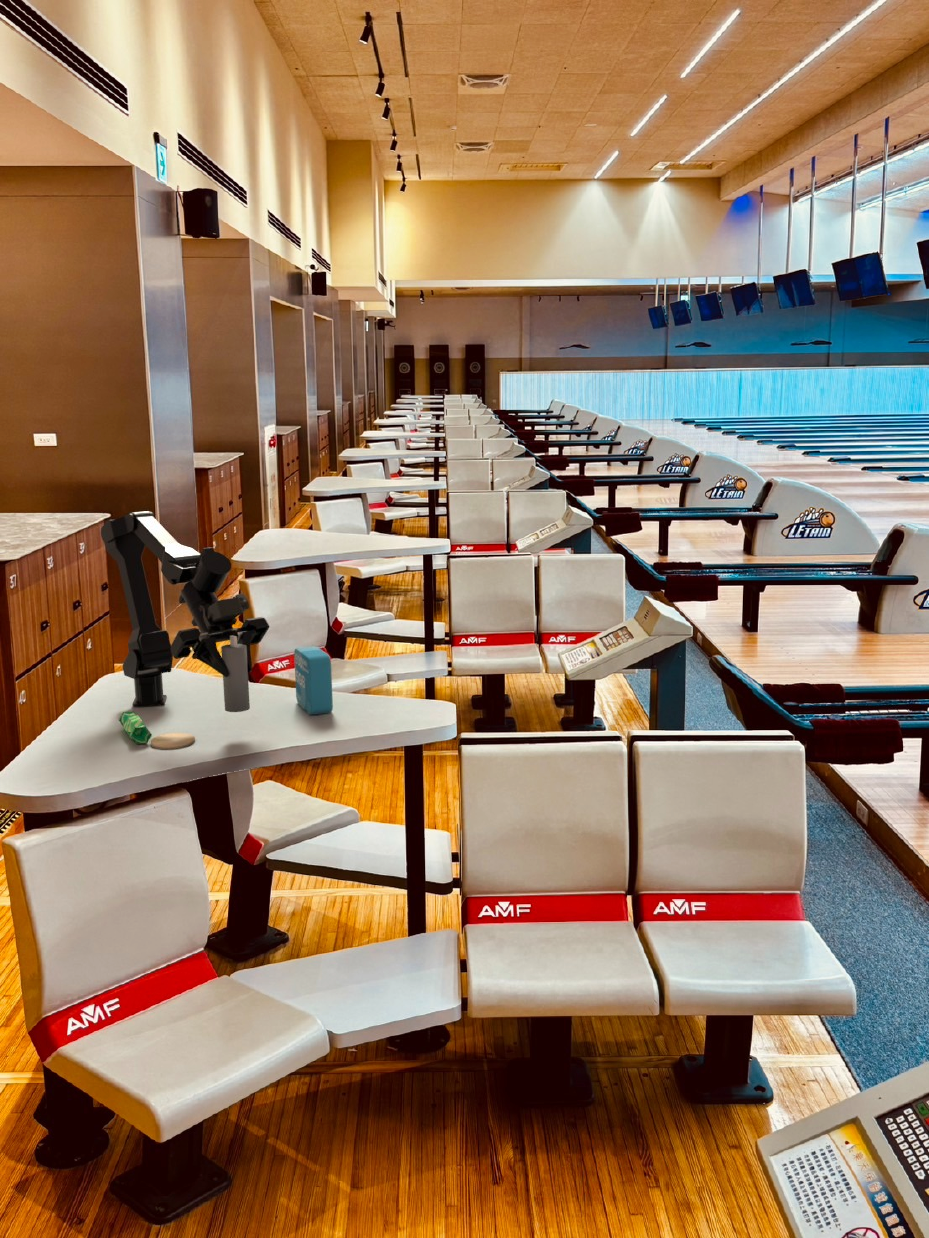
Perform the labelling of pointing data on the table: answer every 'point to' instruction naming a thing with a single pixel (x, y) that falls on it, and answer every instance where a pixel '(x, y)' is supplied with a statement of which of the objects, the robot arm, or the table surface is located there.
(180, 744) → the cork coaster
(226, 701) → the charcoal plug
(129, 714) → the candy
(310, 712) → the data package
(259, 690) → the table surface
